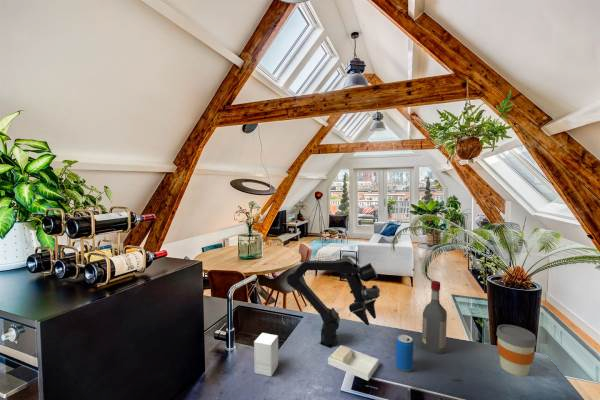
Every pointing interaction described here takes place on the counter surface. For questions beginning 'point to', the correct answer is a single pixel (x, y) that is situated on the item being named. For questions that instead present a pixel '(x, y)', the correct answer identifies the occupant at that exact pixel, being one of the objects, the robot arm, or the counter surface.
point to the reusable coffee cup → (515, 349)
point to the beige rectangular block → (343, 354)
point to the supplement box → (266, 354)
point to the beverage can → (404, 353)
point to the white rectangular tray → (357, 364)
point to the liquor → (434, 323)
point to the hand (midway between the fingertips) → (371, 321)
